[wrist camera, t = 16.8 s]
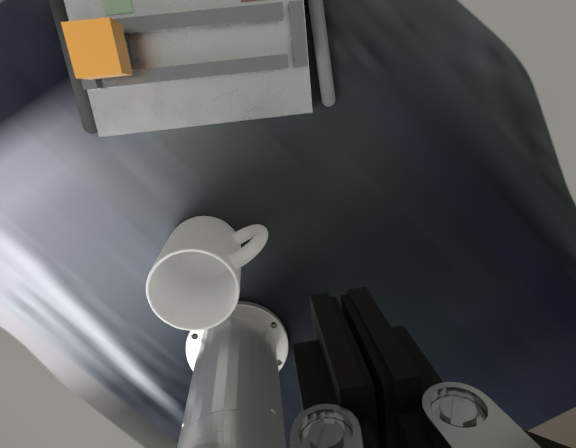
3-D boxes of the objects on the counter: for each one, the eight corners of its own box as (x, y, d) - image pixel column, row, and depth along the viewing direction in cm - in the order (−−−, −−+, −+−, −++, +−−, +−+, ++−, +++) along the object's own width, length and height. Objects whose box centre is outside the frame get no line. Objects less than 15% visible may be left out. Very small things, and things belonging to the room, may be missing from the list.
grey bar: (102, 132, 40) (97, 133, 38) (88, 133, 40) (83, 135, 38) (64, -19, 35) (56, -23, 34) (48, -17, 35) (40, -22, 34)
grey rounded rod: (334, 105, 41) (337, 105, 40) (321, 107, 41) (324, 108, 40) (315, -43, 36) (318, -48, 35) (300, -41, 36) (302, -45, 35)
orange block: (141, 76, 36) (122, 73, 31) (102, 80, 36) (75, 78, 31) (131, 28, 35) (109, 17, 30) (90, 33, 35) (60, 22, 29)
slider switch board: (309, 111, 41) (315, 113, 38) (106, 134, 40) (93, 138, 37) (296, -45, 36) (301, -58, 33) (66, -23, 35) (47, -35, 32)
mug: (248, 184, 43) (247, 212, 33) (283, 245, 46) (291, 287, 36) (154, 235, 44) (126, 276, 34) (194, 292, 46) (178, 345, 37)
